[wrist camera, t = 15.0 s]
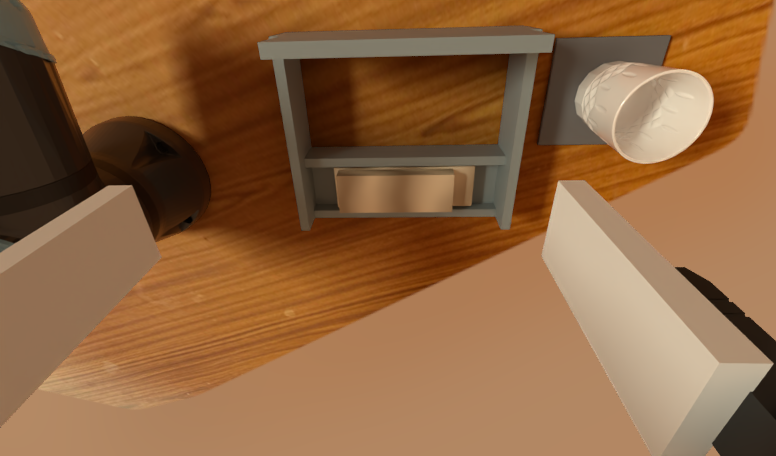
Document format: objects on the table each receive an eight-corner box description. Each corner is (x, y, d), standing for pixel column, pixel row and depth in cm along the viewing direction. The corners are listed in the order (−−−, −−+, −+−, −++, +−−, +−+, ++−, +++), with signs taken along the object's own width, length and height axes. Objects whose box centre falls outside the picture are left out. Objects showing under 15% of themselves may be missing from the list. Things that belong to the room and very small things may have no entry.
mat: (537, 143, 44) (538, 145, 43) (556, 38, 38) (558, 38, 38) (634, 142, 43) (636, 143, 43) (668, 35, 38) (671, 35, 37)
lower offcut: (340, 200, 47) (338, 206, 45) (336, 162, 44) (333, 168, 43) (468, 199, 46) (471, 205, 45) (472, 160, 44) (475, 166, 42)
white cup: (648, 115, 41) (713, 144, 33) (574, 141, 43) (617, 176, 34) (643, 41, 37) (714, 52, 29) (562, 73, 39) (607, 93, 31)
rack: (311, 206, 49) (287, 260, 39) (286, 32, 39) (244, 42, 28) (498, 205, 48) (524, 260, 38) (523, 25, 38) (569, 34, 27)
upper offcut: (342, 205, 45) (339, 212, 44) (338, 170, 43) (336, 176, 41) (450, 204, 45) (452, 212, 43) (452, 168, 42) (454, 174, 41)
